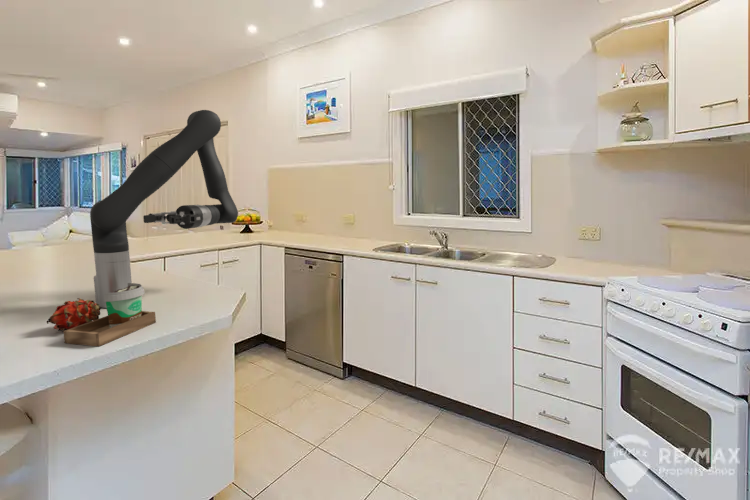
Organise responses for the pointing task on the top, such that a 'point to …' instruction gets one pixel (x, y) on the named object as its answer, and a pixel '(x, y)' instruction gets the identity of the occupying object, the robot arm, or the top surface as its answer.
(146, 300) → the top surface
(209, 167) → the robot arm
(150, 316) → the wooden tray
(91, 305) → the dragon fruit
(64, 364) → the top surface
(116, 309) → the food container
